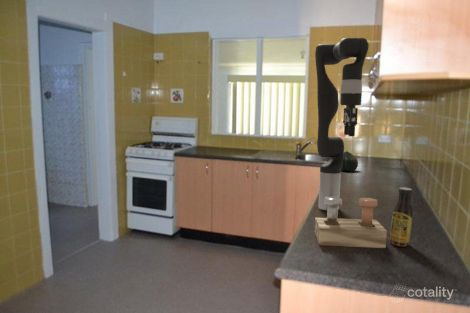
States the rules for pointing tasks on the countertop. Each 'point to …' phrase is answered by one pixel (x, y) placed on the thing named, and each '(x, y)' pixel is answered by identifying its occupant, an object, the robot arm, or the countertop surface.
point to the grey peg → (332, 208)
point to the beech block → (350, 233)
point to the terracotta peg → (367, 209)
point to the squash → (349, 162)
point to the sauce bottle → (402, 219)
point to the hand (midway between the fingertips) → (349, 135)
